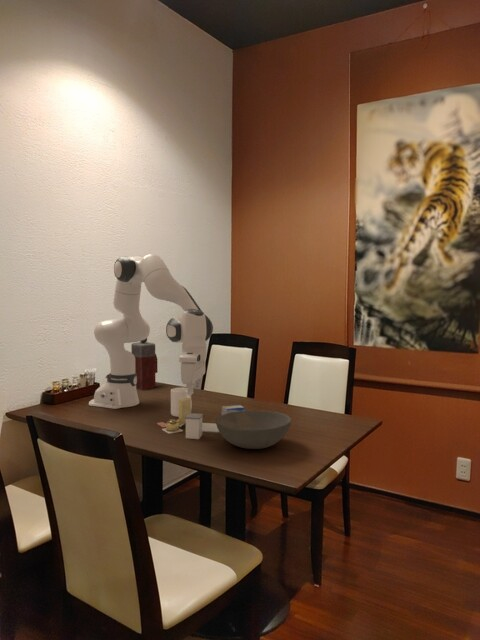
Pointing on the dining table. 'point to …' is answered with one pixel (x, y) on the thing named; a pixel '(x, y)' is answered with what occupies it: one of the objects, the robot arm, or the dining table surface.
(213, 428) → the mat
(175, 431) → the marks
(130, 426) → the dining table surface
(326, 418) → the dining table surface
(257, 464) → the dining table surface
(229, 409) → the medicine box
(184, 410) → the gold angular piece
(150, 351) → the red canister
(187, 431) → the grey rectangular block
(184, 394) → the mug
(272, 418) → the bowl
